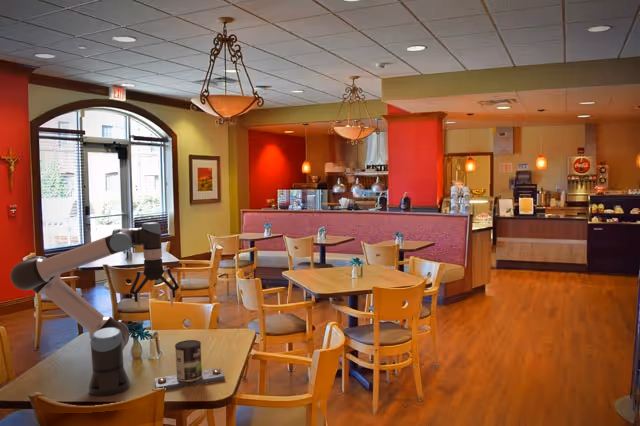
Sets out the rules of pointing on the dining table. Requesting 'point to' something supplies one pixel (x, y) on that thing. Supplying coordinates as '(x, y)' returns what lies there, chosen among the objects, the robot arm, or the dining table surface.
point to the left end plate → (169, 382)
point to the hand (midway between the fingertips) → (155, 307)
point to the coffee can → (188, 360)
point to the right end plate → (210, 376)
